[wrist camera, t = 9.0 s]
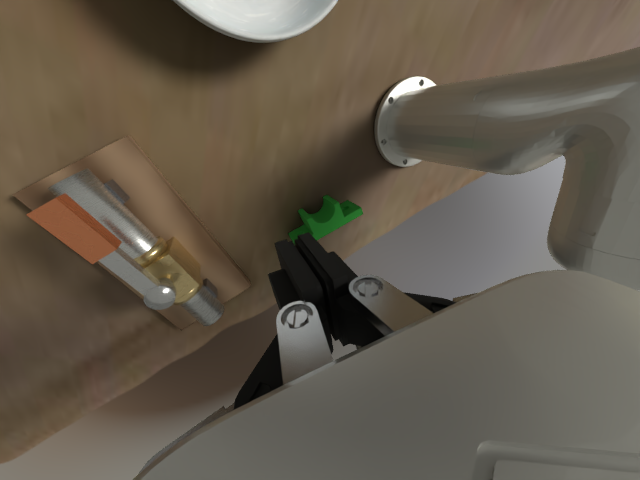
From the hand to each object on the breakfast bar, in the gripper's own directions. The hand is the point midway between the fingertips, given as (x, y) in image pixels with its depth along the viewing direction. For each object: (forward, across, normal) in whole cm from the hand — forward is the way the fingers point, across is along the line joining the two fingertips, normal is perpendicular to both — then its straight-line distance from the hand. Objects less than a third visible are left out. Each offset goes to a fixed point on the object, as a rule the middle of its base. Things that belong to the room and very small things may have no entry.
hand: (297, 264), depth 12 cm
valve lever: (+18, +14, +4) cm, 23 cm away
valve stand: (+25, +13, +7) cm, 29 cm away
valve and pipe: (+24, +13, +7) cm, 28 cm away
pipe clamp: (+26, -10, +9) cm, 29 cm away
